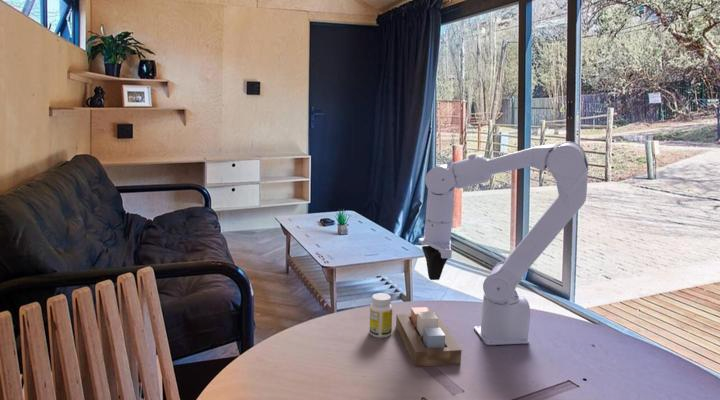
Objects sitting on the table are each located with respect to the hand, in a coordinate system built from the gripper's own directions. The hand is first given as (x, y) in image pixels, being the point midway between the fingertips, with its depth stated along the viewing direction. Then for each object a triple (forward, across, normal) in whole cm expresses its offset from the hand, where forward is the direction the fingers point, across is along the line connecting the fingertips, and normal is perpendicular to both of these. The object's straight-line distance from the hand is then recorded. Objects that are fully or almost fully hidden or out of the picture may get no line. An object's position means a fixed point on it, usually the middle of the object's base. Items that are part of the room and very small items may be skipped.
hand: (434, 278), depth 116 cm
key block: (+10, +10, -4) cm, 15 cm away
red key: (+9, +5, -4) cm, 11 cm away
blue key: (+9, +15, -4) cm, 18 cm away
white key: (+8, +10, -4) cm, 13 cm away
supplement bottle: (+11, +4, -12) cm, 17 cm away
